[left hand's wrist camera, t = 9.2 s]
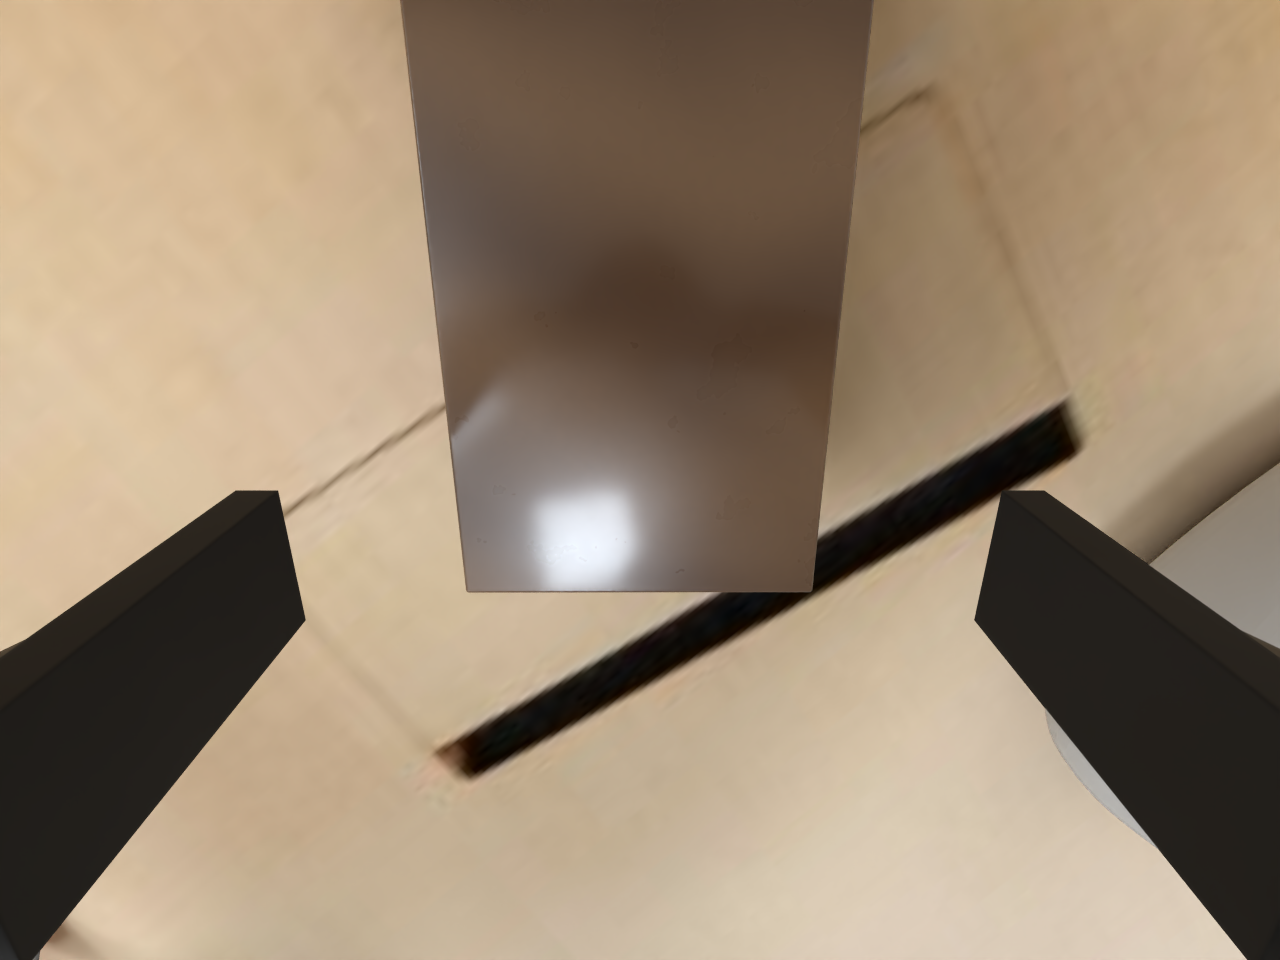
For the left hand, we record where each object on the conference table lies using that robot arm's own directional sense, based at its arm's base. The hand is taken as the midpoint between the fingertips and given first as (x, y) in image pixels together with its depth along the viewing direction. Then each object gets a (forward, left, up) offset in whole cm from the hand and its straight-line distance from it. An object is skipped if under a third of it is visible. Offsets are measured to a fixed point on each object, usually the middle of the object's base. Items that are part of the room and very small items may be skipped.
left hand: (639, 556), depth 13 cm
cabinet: (+5, 0, -15) cm, 16 cm away
